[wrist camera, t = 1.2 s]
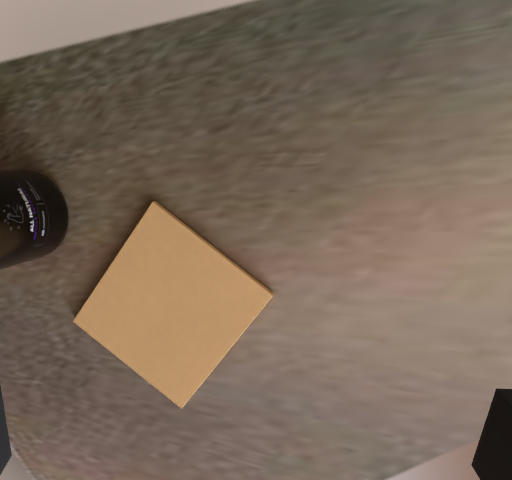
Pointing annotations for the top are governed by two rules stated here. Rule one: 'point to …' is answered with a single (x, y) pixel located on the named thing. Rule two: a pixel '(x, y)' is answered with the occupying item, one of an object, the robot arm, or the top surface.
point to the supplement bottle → (29, 216)
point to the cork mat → (171, 305)
